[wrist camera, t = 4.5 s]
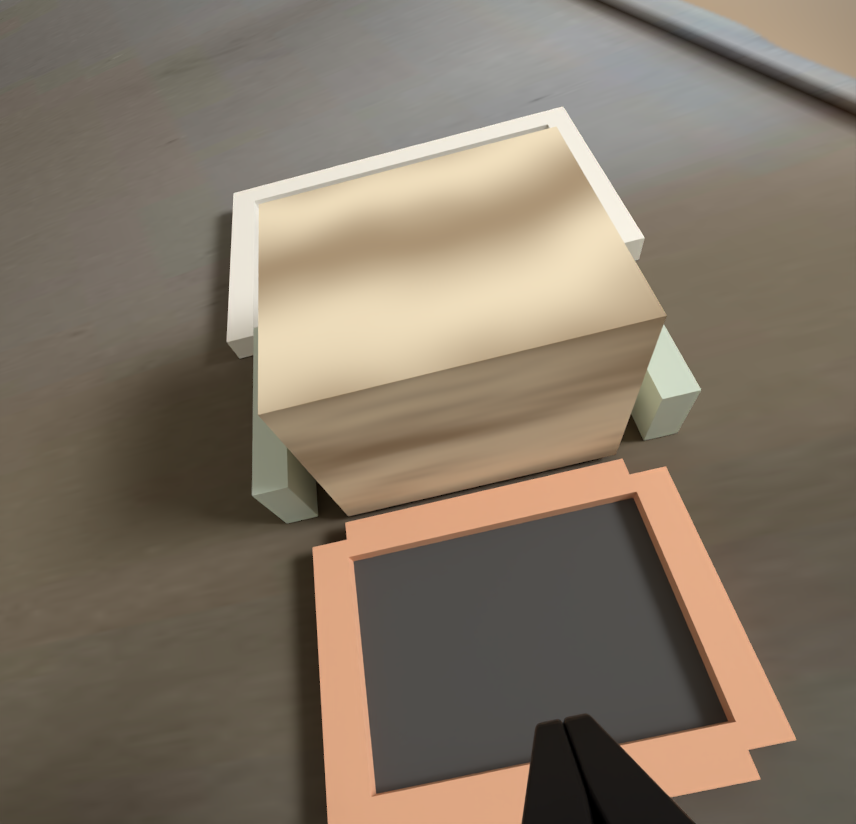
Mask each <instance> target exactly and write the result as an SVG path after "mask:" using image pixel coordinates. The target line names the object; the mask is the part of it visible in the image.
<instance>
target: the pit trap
mask: <svg viewBox="0 0 856 824" xmlns="http://www.w3.org/2000/svg"><path fill="white" fill-rule="evenodd" d="M345 525H346V535H347V540H343V541H339V542H334V543H330V544H326V545H321V546H317V547H313V564H314V582H315V600H316V618H317V636H318V654H319V672H320V690H321V708H322V726H323V744H324V762H325V780H326V798H327V816H328V824H521V823H522V816H523V809H524V802H525V795H526V788H527V781H528V774H529V767H530V760H531V753H532V746H533V739H534V732H535V727H536V725H537V724H538V723H540V722H545V721H550V720H555V719H559V720H561V721H562V722H563V720H564V719H565V718H566V717H569V716H574V715H579V714H584V713H586V714H589V715H591V716H592V717H593V718H594V719H595V720H596V721H597V722H598V723H599V724H600V725H601V726H602V728H603V729H604V730H605V731H606V732H607V733H608V734H609V735H610V736H611V737H612V738H613V739H614V740H615V741H616V742H617V743H618V744H619V745H620V746H621V747H622V748H623V749H624V750H625V751H626V752H627V753H628V754H629V755H630V756H631V757H632V758H633V760H634V761H635V762H636V763H637V764H638V765H639V766H640V767H641V768H642V769H643V770H644V771H645V772H646V773H647V774H648V775H649V776H650V777H651V778H652V779H653V780H654V781H655V782H656V783H657V784H658V785H659V786H660V787H661V788H662V789H663V791H664V792H665V793H666V794H667V795H668V796H669V797H675V796H680V795H685V794H690V793H695V792H700V791H705V790H710V789H715V788H720V787H725V786H730V785H734V784H739V783H744V782H749V781H754V780H759V779H760V776H759V774H758V772H757V769H756V767H755V765H754V762H753V760H752V758H751V756H750V753H749V751H748V750H749V749H754V748H759V747H764V746H769V745H774V744H779V743H784V742H789V741H794V740H796V738H795V736H794V733H793V731H792V729H791V727H790V725H789V723H788V721H787V719H786V717H785V715H784V713H783V710H782V708H781V706H780V704H779V702H778V700H777V698H776V696H775V694H774V692H773V690H772V687H771V685H770V683H769V681H768V679H767V677H766V675H765V673H764V671H763V669H762V667H761V664H760V662H759V660H758V658H757V656H756V654H755V652H754V650H753V648H752V646H751V644H750V641H749V639H748V637H747V635H746V633H745V631H744V629H743V627H742V625H741V623H740V621H739V618H738V616H737V614H736V612H735V610H734V608H733V606H732V604H731V602H730V600H729V598H728V595H727V593H726V591H725V589H724V587H723V585H722V583H721V581H720V579H719V577H718V575H717V572H716V570H715V568H714V566H713V564H712V562H711V560H710V558H709V556H708V554H707V552H706V549H705V547H704V545H703V543H702V541H701V539H700V537H699V535H698V533H697V531H696V529H695V526H694V524H693V522H692V520H691V518H690V516H689V514H688V512H687V510H686V508H685V506H684V503H683V501H682V499H681V497H680V495H679V493H678V491H677V489H676V487H675V485H674V483H673V480H672V478H671V476H670V474H669V472H668V470H667V468H666V466H665V467H661V468H657V469H652V470H648V471H644V472H639V473H635V474H631V475H629V473H628V470H627V468H626V466H625V463H624V461H623V459H619V460H614V461H610V462H606V463H601V464H597V465H593V466H588V467H584V468H580V469H575V470H571V471H567V472H562V473H558V474H554V475H549V476H545V477H541V478H537V479H532V480H528V481H524V482H519V483H515V484H511V485H506V486H502V487H498V488H493V489H489V490H485V491H480V492H476V493H472V494H467V495H463V496H459V497H454V498H450V499H446V500H441V501H437V502H433V503H428V504H424V505H420V506H415V507H411V508H407V509H402V510H398V511H394V512H389V513H385V514H381V515H376V516H372V517H368V518H363V519H359V520H355V521H350V522H346V523H345Z"/></svg>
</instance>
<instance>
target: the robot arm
mask: <svg viewBox="0 0 856 824" xmlns="http://www.w3.org/2000/svg"><path fill="white" fill-rule="evenodd" d="M521 824H695V823H694V822H693V820H692V819H691V818H690V817H689V816H688V815H687V814H686V813H685V812H684V811H683V810H682V809H681V808H680V807H679V806H678V805H677V804H676V803H675V802H674V801H673V800H672V799H671V798H670V797H669V796H668V795H667V794H666V793H665V792H664V791H663V789H662V788H661V787H660V786H659V785H658V784H657V783H656V782H655V781H654V780H653V779H652V778H651V777H650V776H649V775H648V774H647V773H646V772H645V771H644V770H643V769H642V768H641V767H640V766H639V765H638V764H637V763H636V762H635V761H634V760H633V758H632V757H631V756H630V755H629V754H628V753H627V752H626V751H625V750H624V749H623V748H622V747H621V746H620V745H619V744H618V743H617V742H616V741H615V740H614V739H613V738H612V737H611V736H610V735H609V734H608V733H607V732H606V731H605V730H604V729H603V728H602V726H601V725H600V724H599V723H598V722H597V721H596V720H595V719H594V718H593V717H592V716H591V715H589V714H586V713H584V714H579V715H574V716H569V717H566V718H565V719H564V720H563V722H562V721H561V720H559V719H555V720H550V721H545V722H540V723H538V724H537V725H536V727H535V732H534V739H533V746H532V753H531V760H530V767H529V774H528V781H527V788H526V795H525V802H524V809H523V816H522V823H521Z"/></svg>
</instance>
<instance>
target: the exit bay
mask: <svg viewBox="0 0 856 824" xmlns="http://www.w3.org/2000/svg"><path fill="white" fill-rule="evenodd" d="M552 127H557V128H558V130H559V132H560V133H561V135H562V137H563V139H564V140H565V142H566V144H567V145H568V147H569V149H570V151H571V152H572V154H573V156H574V157H575V159H576V161H577V163H578V164H579V166H580V168H581V169H582V171H583V173H584V175H585V176H586V178H587V180H588V181H589V183H590V185H591V187H592V188H593V190H594V192H595V193H596V195H597V197H598V199H599V200H600V202H601V204H602V205H603V207H604V209H605V211H606V212H607V214H608V216H609V217H610V219H611V221H612V223H613V224H614V226H615V228H616V229H617V231H618V233H619V235H620V236H621V238H622V240H623V241H624V243H625V245H626V247H627V248H628V250H629V252H630V253H631V255H632V257H633V259H634V260H639V257H640V253H641V250H642V246H643V242H644V236H643V235H642V233H641V231H640V230H639V228H638V226H637V225H636V223H635V222H634V220H633V218H632V217H631V215H630V214H629V212H628V210H627V209H626V207H625V206H624V204H623V202H622V201H621V199H620V197H619V196H618V194H617V193H616V191H615V189H614V188H613V186H612V185H611V183H610V181H609V180H608V178H607V177H606V175H605V173H604V172H603V170H602V169H601V167H600V165H599V164H598V162H597V160H596V159H595V157H594V156H593V154H592V152H591V151H590V149H589V148H588V146H587V144H586V143H585V141H584V140H583V138H582V136H581V135H580V133H579V131H578V130H577V128H576V127H575V125H574V123H573V122H572V120H571V119H570V117H569V115H568V114H567V112H566V111H565V109H564V107H559V108H555V109H552V110H548V111H544V112H540V113H536V114H533V115H529V116H525V117H521V118H517V119H514V120H510V121H506V122H502V123H499V124H495V125H491V126H487V127H483V128H480V129H476V130H472V131H468V132H464V133H461V134H457V135H453V136H449V137H445V138H442V139H438V140H434V141H430V142H426V143H423V144H419V145H415V146H411V147H407V148H404V149H400V150H396V151H392V152H388V153H385V154H381V155H377V156H373V157H369V158H366V159H362V160H358V161H354V162H350V163H347V164H343V165H339V166H335V167H331V168H328V169H324V170H320V171H316V172H312V173H309V174H305V175H301V176H297V177H293V178H290V179H286V180H282V181H278V182H274V183H271V184H267V185H263V186H259V187H255V188H252V189H248V190H244V191H240V192H236V193H234V197H233V218H232V239H231V260H230V281H229V302H228V323H227V343H228V345H229V346H230V347H231V348H232V350H233V351H234V352H235V353H236V355H237V356H238V357H239V358H244V357H248V356H252V355H253V344H254V328H256V327H258V253H259V204H262V203H265V202H269V201H273V200H277V199H281V198H285V197H288V196H292V195H296V194H300V193H304V192H308V191H311V190H315V189H319V188H323V187H327V186H330V185H334V184H338V183H342V182H346V181H350V180H353V179H357V178H361V177H365V176H369V175H372V174H376V173H380V172H384V171H388V170H392V169H395V168H399V167H403V166H407V165H411V164H415V163H418V162H422V161H426V160H430V159H434V158H437V157H441V156H445V155H449V154H453V153H457V152H460V151H464V150H468V149H472V148H476V147H479V146H483V145H487V144H491V143H495V142H499V141H502V140H506V139H510V138H514V137H518V136H522V135H525V134H529V133H533V132H537V131H541V130H544V129H548V128H552Z"/></svg>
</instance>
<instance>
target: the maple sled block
mask: <svg viewBox="0 0 856 824" xmlns="http://www.w3.org/2000/svg"><path fill="white" fill-rule="evenodd" d="M666 317H667V315H666V313H665V312H664V310H663V308H662V307H661V305H660V303H659V301H658V300H657V298H656V296H655V295H654V293H653V291H652V289H651V288H650V286H649V284H648V283H647V281H646V279H645V277H644V276H643V274H642V272H641V271H640V269H639V267H638V265H637V264H636V262H635V260H634V259H633V257H632V255H631V253H630V252H629V250H628V248H627V247H626V245H625V243H624V241H623V240H622V238H621V236H620V235H619V233H618V231H617V229H616V228H615V226H614V224H613V223H612V221H611V219H610V217H609V216H608V214H607V212H606V211H605V209H604V207H603V205H602V204H601V202H600V200H599V199H598V197H597V195H596V193H595V192H594V190H593V188H592V187H591V185H590V183H589V181H588V180H587V178H586V176H585V175H584V173H583V171H582V169H581V168H580V166H579V164H578V163H577V161H576V159H575V157H574V156H573V154H572V152H571V151H570V149H569V147H568V145H567V144H566V142H565V140H564V139H563V137H562V135H561V133H560V132H559V130H558V128H557V127H552V128H548V129H544V130H541V131H537V132H533V133H529V134H525V135H522V136H518V137H514V138H510V139H506V140H502V141H499V142H495V143H491V144H487V145H483V146H479V147H476V148H472V149H468V150H464V151H460V152H457V153H453V154H449V155H445V156H441V157H437V158H434V159H430V160H426V161H422V162H418V163H415V164H411V165H407V166H403V167H399V168H395V169H392V170H388V171H384V172H380V173H376V174H372V175H369V176H365V177H361V178H357V179H353V180H350V181H346V182H342V183H338V184H334V185H330V186H327V187H323V188H319V189H315V190H311V191H308V192H304V193H300V194H296V195H292V196H288V197H285V198H281V199H277V200H273V201H269V202H265V203H262V204H259V253H258V416H259V417H260V418H261V419H262V420H263V421H264V422H265V423H266V425H267V426H268V427H269V428H270V429H271V430H272V431H273V432H274V434H275V435H276V436H277V437H278V438H279V439H280V440H281V441H282V443H283V444H284V445H285V446H286V447H287V448H288V449H289V450H290V451H291V453H292V454H293V455H294V456H295V457H296V458H297V459H298V460H299V462H300V463H301V464H302V465H303V466H304V467H305V468H306V469H307V471H308V472H309V473H310V474H311V475H312V476H313V477H314V478H315V479H316V481H317V482H318V483H319V484H320V485H321V486H322V487H323V488H324V490H325V491H326V492H327V493H328V494H329V495H330V496H331V497H332V499H333V500H334V501H335V502H336V503H337V504H338V505H339V506H340V507H341V509H342V510H343V511H344V512H345V513H346V514H347V515H348V516H352V515H357V514H361V513H365V512H370V511H374V510H378V509H382V508H387V507H391V506H395V505H400V504H404V503H408V502H413V501H417V500H421V499H426V498H430V497H434V496H439V495H443V494H447V493H452V492H456V491H460V490H465V489H469V488H473V487H478V486H482V485H486V484H490V483H495V482H499V481H503V480H508V479H512V478H516V477H521V476H525V475H529V474H534V473H538V472H542V471H547V470H551V469H555V468H560V467H564V466H568V465H573V464H577V463H581V462H585V461H590V460H594V459H598V458H603V457H607V456H611V455H616V453H617V450H618V447H619V445H620V442H621V439H622V436H623V434H624V431H625V428H626V426H627V423H628V420H629V417H630V415H631V412H632V409H633V406H634V404H635V401H636V398H637V396H638V393H639V390H640V387H641V385H642V382H643V379H644V376H645V374H646V371H647V368H648V366H649V363H650V360H651V357H652V355H653V352H654V349H655V346H656V344H657V341H658V338H659V336H660V333H661V330H662V327H663V325H664V322H665V319H666Z"/></svg>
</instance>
